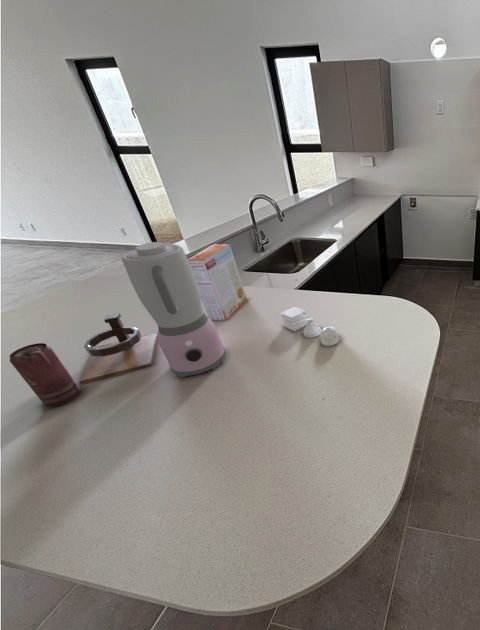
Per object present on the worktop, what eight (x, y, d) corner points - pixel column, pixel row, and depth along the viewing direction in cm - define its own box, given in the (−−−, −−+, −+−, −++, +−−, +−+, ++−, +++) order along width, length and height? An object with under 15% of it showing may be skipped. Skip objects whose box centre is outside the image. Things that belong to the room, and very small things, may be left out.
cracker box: (231, 301, 117) (212, 243, 106) (248, 301, 117) (231, 243, 106) (208, 321, 105) (184, 259, 94) (227, 322, 104) (204, 259, 94)
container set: (284, 328, 101) (280, 313, 98) (298, 321, 105) (295, 305, 102) (330, 350, 92) (327, 333, 89) (343, 341, 95) (341, 325, 93)
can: (67, 409, 73) (29, 359, 66) (38, 409, 73) (-3, 359, 66) (90, 390, 78) (58, 341, 71) (63, 390, 78) (28, 341, 71)
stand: (82, 386, 79) (58, 352, 74) (98, 351, 91) (79, 320, 86) (152, 367, 85) (135, 335, 80) (159, 337, 97) (144, 307, 92)
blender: (173, 359, 88) (116, 242, 72) (223, 344, 94) (182, 233, 78) (174, 394, 77) (107, 265, 61) (231, 375, 83) (185, 253, 66)
